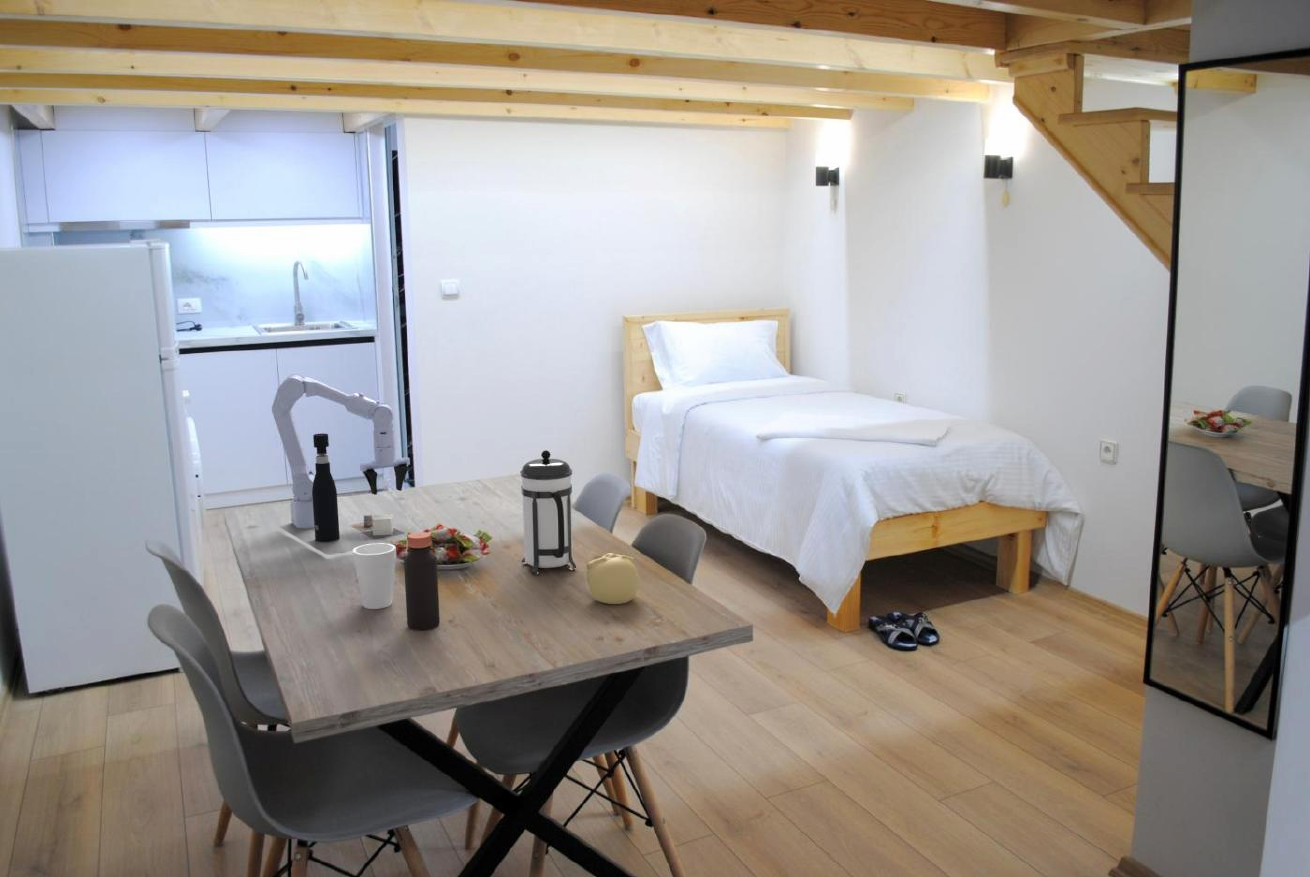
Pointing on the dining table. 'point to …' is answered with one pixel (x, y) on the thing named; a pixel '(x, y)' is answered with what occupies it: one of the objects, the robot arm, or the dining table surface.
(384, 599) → the foam cup
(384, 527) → the white block
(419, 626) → the dark brown water bottle
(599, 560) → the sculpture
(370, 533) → the mat
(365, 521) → the pin stand
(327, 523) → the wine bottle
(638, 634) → the dining table surface
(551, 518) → the coffee press
